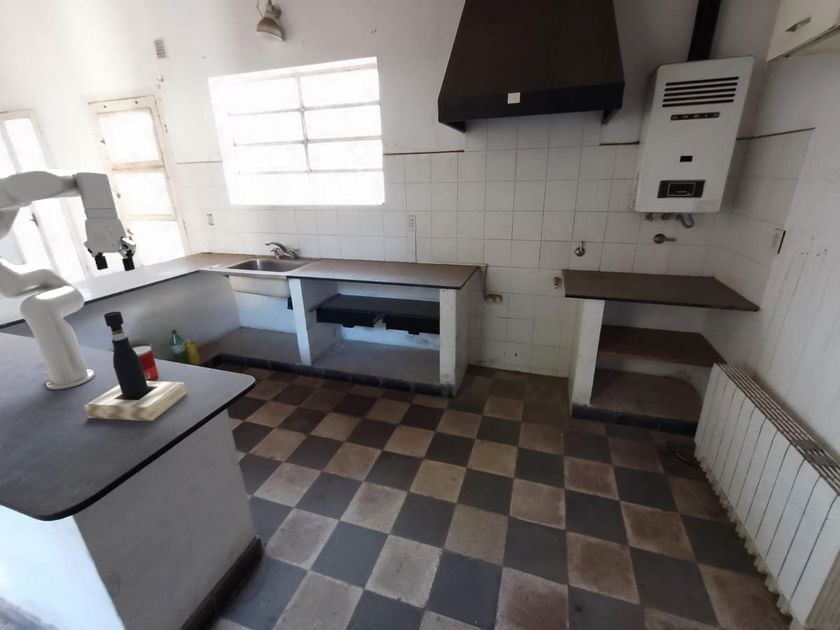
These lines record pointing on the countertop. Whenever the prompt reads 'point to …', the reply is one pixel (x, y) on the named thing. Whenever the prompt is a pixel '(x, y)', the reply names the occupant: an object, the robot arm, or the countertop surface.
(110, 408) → the holder block
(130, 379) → the black water bottle
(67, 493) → the countertop surface
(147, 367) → the canned food
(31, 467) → the countertop surface
